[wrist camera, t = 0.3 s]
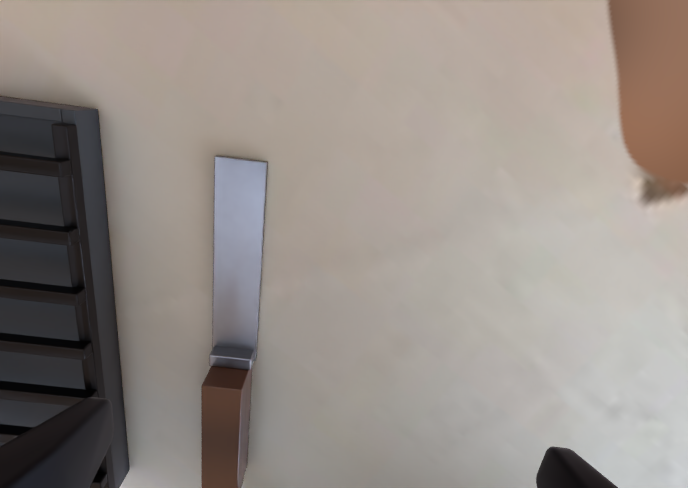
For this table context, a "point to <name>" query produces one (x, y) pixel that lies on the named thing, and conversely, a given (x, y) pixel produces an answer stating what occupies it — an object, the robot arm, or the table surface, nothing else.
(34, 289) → the dish rack
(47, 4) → the table surface
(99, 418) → the robot arm
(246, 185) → the knife
